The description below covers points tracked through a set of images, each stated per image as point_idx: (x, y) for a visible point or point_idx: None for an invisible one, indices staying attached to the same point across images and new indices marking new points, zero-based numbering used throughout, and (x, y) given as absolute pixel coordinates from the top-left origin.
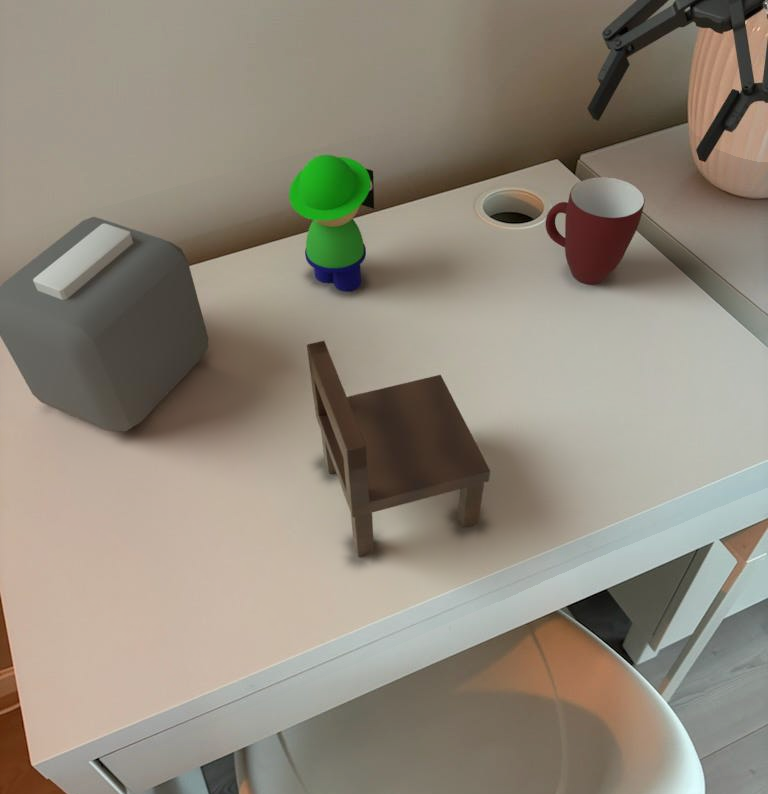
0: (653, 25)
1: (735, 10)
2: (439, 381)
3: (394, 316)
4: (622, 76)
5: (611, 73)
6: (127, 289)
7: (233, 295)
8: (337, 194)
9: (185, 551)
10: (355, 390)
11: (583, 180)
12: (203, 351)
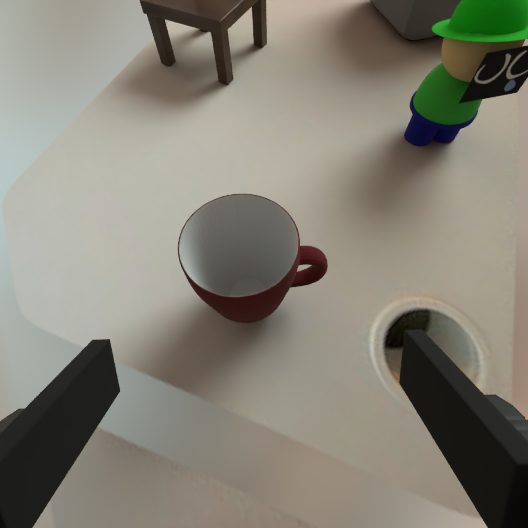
0: None
1: None
2: (215, 18)
3: (349, 135)
4: (466, 487)
5: (465, 395)
6: None
7: None
8: (456, 8)
9: None
10: (302, 78)
11: (297, 252)
12: (399, 25)
